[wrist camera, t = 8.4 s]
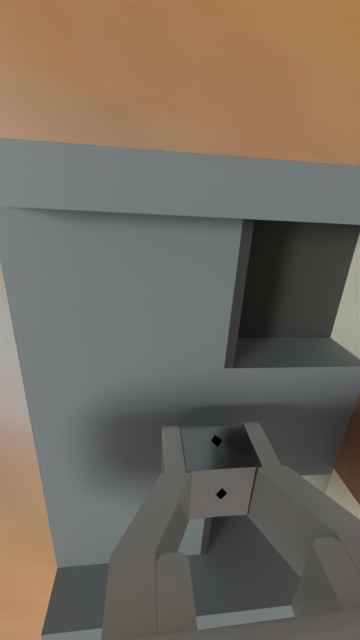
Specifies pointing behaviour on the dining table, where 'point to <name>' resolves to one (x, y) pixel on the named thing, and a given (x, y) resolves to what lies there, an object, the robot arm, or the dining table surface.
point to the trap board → (177, 346)
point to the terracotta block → (351, 455)
